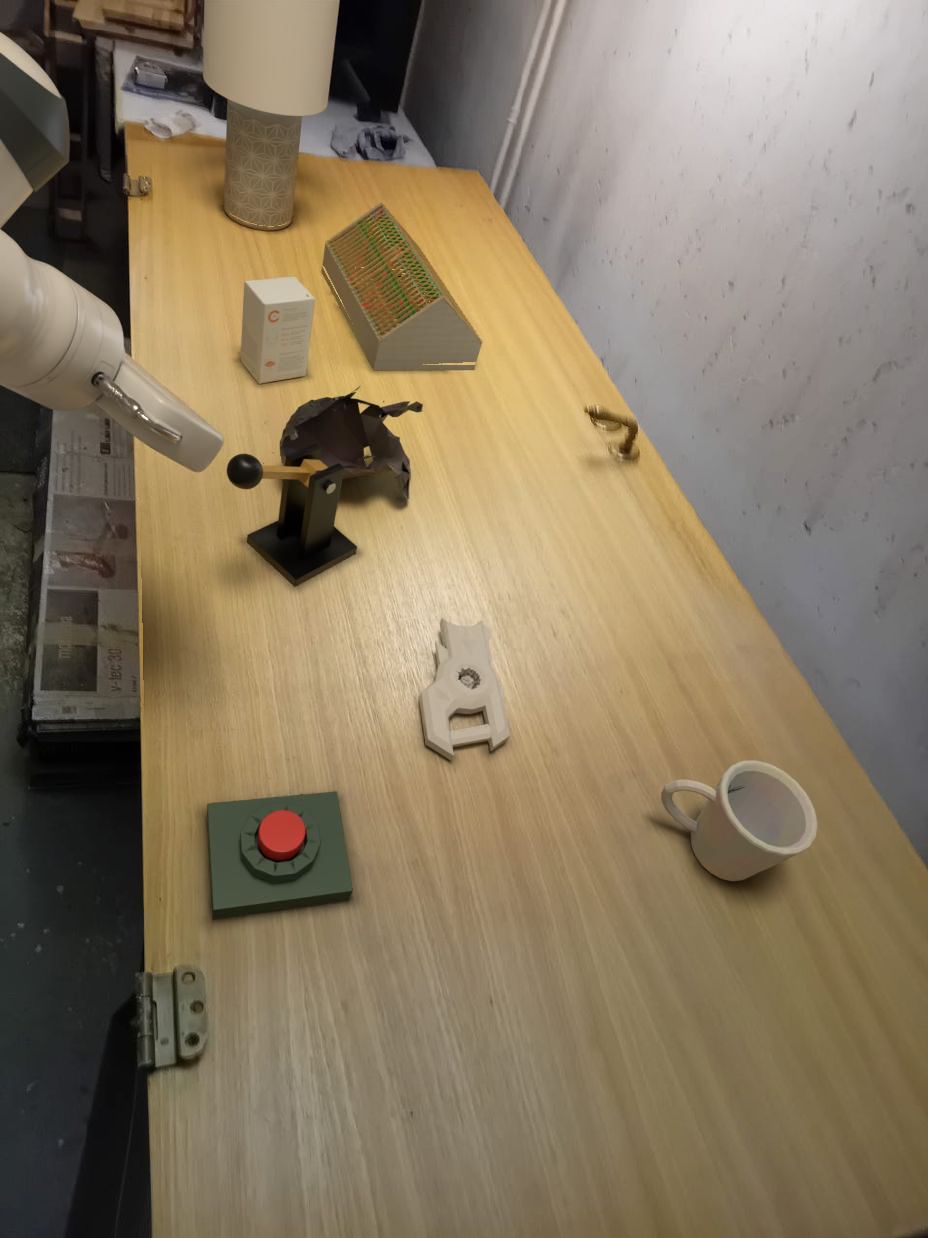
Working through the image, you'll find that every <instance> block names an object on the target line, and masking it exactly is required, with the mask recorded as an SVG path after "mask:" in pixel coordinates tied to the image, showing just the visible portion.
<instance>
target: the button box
mask: <svg viewBox="0 0 928 1238" xmlns="http://www.w3.org/2000/svg"><path fill="white" fill-rule="evenodd" d="M280 810H286V811H290V812H293V813H295V814H296V815H298V816H299V817H300V818H301V820H302V821H303V823H304V825H305V837H304V841H303V845H302V848H301V849H300V851H299V852H298V853H297V854H296V855H295V856H294V857H292V858H290V859H287V860H281V861H279V860H273V859H270V858H268V857H267V856H265V855H264V854H263V853H262V851H261V850H260V848H259V845H258V833H259V827H260V824H261V822H262V821H263V819H264V818H265V817H266V816H267V815H269V814H270V813H272V812H275V811H280ZM341 813H342V812H341V807H340V801H339V795H338V791H336V790H335V791H326V792H315V793H305V794H304V793H303V794H293V795H284V796H273V797H262V798H253V799H251V798H250V799H243V800H242V799H241V800H231V801H220V802H209V803H207V804H206V828H207V829H206V830H207V848H208V862H209V863H208V865H209V866H208V867H209V883H210V884H209V885H210V901H211V919H212V920H220V919H226V918H233V917H241V916H248V915H254V914H255V915H256V914H261V913H262V914H263V913H269V912H276V911H282V910H289V909H290V910H291V909H297V908H304V907H311V906H318V905H325V904H332V903H339V902H340V903H341V902H346V901H350V899H351V897H352V894H353V891H354V888H353V883H352V882H353V881H352V876H351V869H350V863H349V858H348V857H349V856H348V851H347V844H346V840H345V839H346V838H345V833H344V827H343V820H342V814H341Z"/></svg>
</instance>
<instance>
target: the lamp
mask: <svg viewBox="0 0 928 1238" xmlns="http://www.w3.org/2000/svg"><path fill="white" fill-rule="evenodd" d="M203 2H204V3H203V9H204V10H203V53H202V54H203V55H202V56H203V57H202V59H203V61H202V62H203V64H202V66H203V67H202V78H203V81H204V82H205V84H206V85H207V86H208V87H209V88H210V89H211V90H213V91H214V92H215V93H217V94H219V95H220V96H222V97H223V98H225V99H226V101H227V103H226V129H225V130H226V131H225V157H224V182H223V183H224V185H223V186H224V188H223V210H224V212H225V213H226V214H227V216H228V217H229V218H230V219H231V220H232V221H234V222H235V223H238V224H240V225H242V226H243V227H247V228H249V229H253V230H258V231H264V232H265V231H267V232H270V231H271V232H273V231H280V230H283V229H286V228H287V227H288V226H289V225H290V224H291V223H292V221H293V215H294V203H295V195H296V194H295V193H296V186H297V185H296V184H297V175H298V174H297V173H298V163H299V162H298V161H299V154H300V153H299V152H300V142H301V132H302V124H303V123H302V122H303V116H304V117H306V116H314V115H317V114H320V113H322V112H324V111H325V110H326V109H327V107H328V103H329V94H330V84H331V78H332V68H333V60H334V53H335V43H336V35H337V26H338V18H339V17H338V16H339V9H340V0H203ZM230 213H231V214H232V215H234V216H236V217H238V218H240V219H242V220H244V221H247V222H250V223H254V224H257V225H254V224H250V223H247V222H244V221H242V220H240V219H237V218H236V217H234V216H232V215H231V214H230ZM291 218H292V220H291ZM290 220H291V221H290ZM289 221H290V222H289ZM287 222H289V223H287ZM285 223H287V224H285ZM282 224H285V225H282ZM259 225H263V226H259ZM264 225H265V226H264ZM278 225H282V226H278ZM268 226H274V227H268Z"/></svg>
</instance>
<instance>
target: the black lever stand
mask: <svg viewBox="0 0 928 1238" xmlns="http://www.w3.org/2000/svg"><path fill="white" fill-rule="evenodd" d="M320 452H321V447H320V446H319V445H317V444H316V443H314V444H312V445H310V446H307V447H305V448H302V449H300V450H297V451H295V452H293V453H290V454H288V455H286V459H285V466H288V467H300V466H301V464H302V462H303V460H304V459H310V460H319V458H320ZM344 469H345V468H344V467H343V466H342V465H341V464H340V463H337V464H335V465H333V466H331V467H328V468H326V469H324V470H322V471H319V472H317V473H315V474H313V475H310V478H309V484H308V487H307V486H305V485H304V484H303V483H302V482H301V481H300V480H299V479H282V485H281V493H280V502H279V511H278V518H277V520H276V521H273V522H271V523H269V524H267V525H266V526H263V527H261V528H259V529H257V530H255V531H252V532H250V533H248V534H247V535H246V542H247V544H249V546H251V548H253V549H254V550H255V551H256V552H257V553H258V554H259V555H260V556H262V557H263V558H264V559H265V560H266V561H267V562H268V564H270V565H271V566H272V567H273V568H274V569H276V570H277V572H279V573H280V574H281V575H282V576H283V578H285V579H286V580H287V581H288V582H290V584H292V586H294V587H297V586H299V585H301V584H302V583H304V582H306V581H308V580H309V579H312V578H314V577H316V576H317V575H319V574H321V573H323V572H324V571H327V570H328V569H330V568H332V567H334V566H336V565H337V564H339V563H341V562H343V561H344V560H346V559H349V558H350V557H352V556H354V555H355V554H357V551H358V546H357V545H356V544H355V543H354V542H353V541H352V540H350V539H349V537H348V536H346V535H345V534H344V533H342V532H341V531H340V530H339V529H338V528H337V527H335V521H336V516H337V511H338V507H339V506H338V504H339V502H340V501H339V500H340V495H341V491H342V490H341V489H342V483H343V480H344V479H343V474H344Z"/></svg>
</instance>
